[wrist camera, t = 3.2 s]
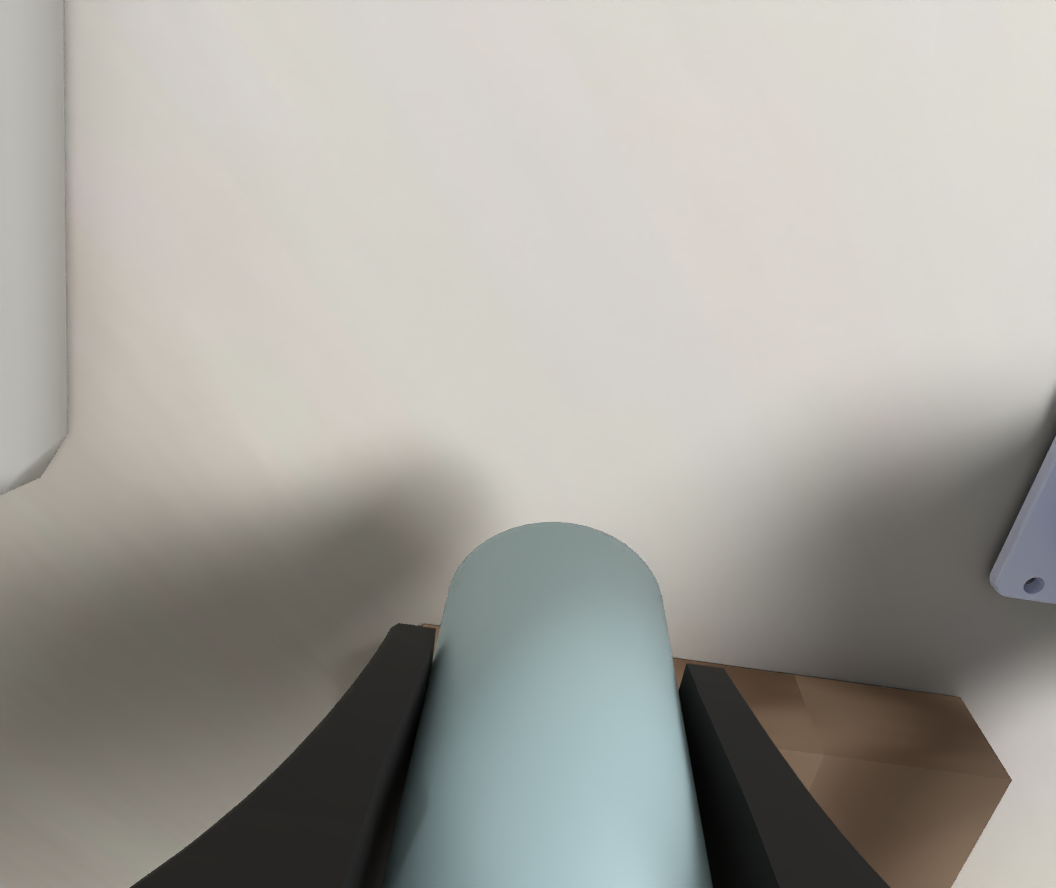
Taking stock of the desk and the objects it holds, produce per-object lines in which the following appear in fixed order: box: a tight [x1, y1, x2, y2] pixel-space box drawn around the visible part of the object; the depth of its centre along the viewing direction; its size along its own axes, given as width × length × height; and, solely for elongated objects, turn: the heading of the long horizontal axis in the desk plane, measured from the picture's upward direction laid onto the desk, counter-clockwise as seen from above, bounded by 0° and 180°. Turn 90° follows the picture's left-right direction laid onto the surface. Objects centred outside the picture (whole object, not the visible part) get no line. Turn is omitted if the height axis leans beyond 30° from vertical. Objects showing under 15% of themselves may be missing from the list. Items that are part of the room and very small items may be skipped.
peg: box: [381, 522, 713, 888], centre depth 11 cm, size 4×4×7 cm
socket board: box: [422, 624, 1012, 888], centre depth 24 cm, size 16×12×3 cm
